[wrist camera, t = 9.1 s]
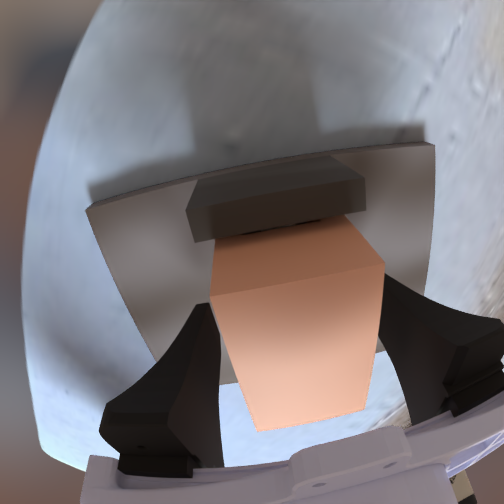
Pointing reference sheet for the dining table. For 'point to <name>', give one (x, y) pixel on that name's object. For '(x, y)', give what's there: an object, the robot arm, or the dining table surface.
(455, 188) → the dining table surface
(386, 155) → the rail board
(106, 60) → the dining table surface
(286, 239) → the slotted block
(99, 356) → the dining table surface
